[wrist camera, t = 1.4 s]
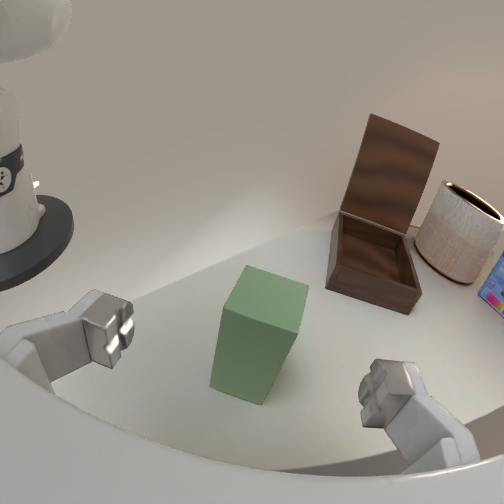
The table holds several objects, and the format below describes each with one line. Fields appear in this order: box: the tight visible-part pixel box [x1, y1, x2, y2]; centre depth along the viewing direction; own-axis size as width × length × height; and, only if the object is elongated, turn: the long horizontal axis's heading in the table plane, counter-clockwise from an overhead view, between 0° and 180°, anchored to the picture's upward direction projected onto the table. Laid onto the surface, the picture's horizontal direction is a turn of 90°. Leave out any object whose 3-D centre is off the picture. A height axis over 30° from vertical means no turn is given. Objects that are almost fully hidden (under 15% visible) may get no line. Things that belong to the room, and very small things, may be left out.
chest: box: [325, 212, 422, 315], centre depth 44 cm, size 18×14×4 cm
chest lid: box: [340, 114, 440, 234], centre depth 47 cm, size 18×14×4 cm
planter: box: [415, 181, 504, 283], centre depth 50 cm, size 18×18×16 cm
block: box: [210, 265, 309, 405], centre depth 23 cm, size 5×5×11 cm
